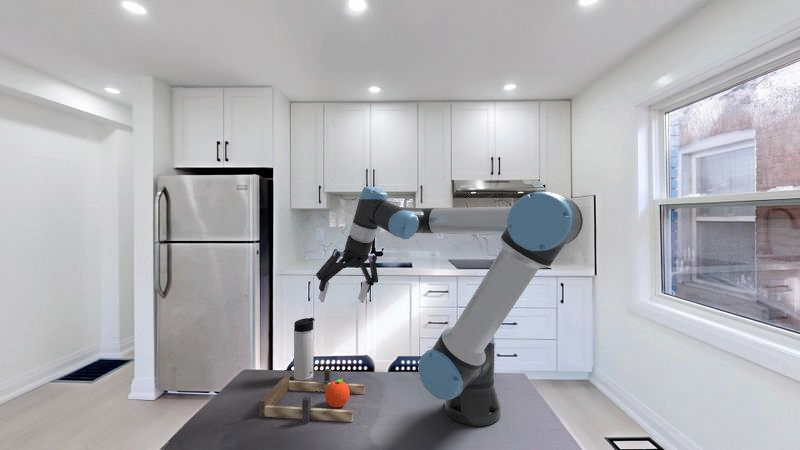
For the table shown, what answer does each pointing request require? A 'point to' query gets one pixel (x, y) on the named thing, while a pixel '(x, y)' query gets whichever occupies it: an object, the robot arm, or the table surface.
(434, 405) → the table surface
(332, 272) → the robot arm
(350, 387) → the lane
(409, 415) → the table surface
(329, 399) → the clementine
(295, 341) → the travel mug
